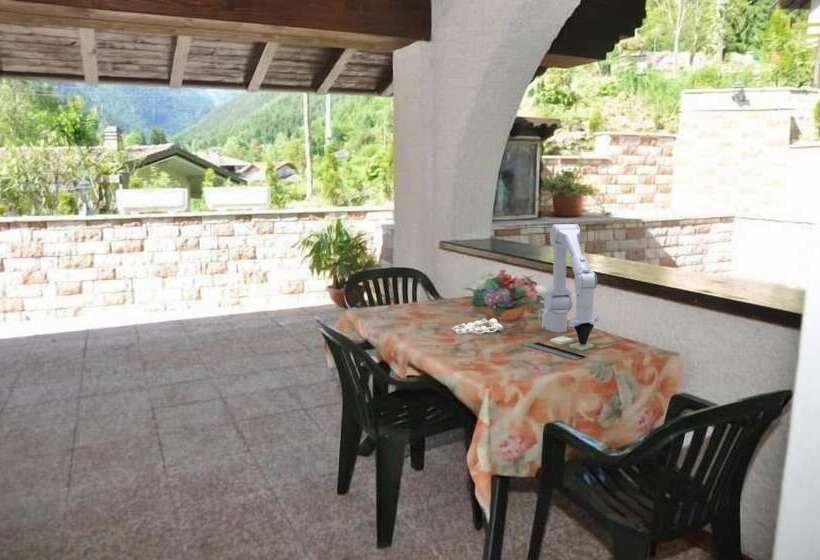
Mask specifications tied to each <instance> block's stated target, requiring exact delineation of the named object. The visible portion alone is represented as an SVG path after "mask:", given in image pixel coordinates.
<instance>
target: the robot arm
mask: <svg viewBox="0 0 820 560" xmlns="http://www.w3.org/2000/svg"><path fill="white" fill-rule="evenodd" d="M580 235H581V228H580V226H579V224H577V223H574V224H572V223H571V224H569V223H567V224H564V223H561V224H559V223H558V224H557V223H555V224H552V226H551V228H550V229H549V236H550V237H549V241H550V242H549V243H550V245H551V246H553V260H552V261H553V264H552V265H553V268H552V271H553V272H552V286H551V287H550V288H549V289H548V290H547V291H546V296H545V298H544V308H545V310H544V312H543V313H542V317H541V329H542V330H546V331H550V332H552V333H565V332H567V331H568V327H570V328H574V329H575V331H576V332H577V335H578V339H579V343H580V344H586V343H587V340H588V337H589V334H590V333H591V332H592V330H593V329H594V324H593V323H595V322H599V319H600V318H599V317H600V315H595V314H593V309H594V294H595V292H594V291H595V289H596V288H597V287H598V276H597V274H596V273H595V272H594V270H591V267H590V264H589V262H588V259H587V257H586V256H585V255H583V253H582V249H581V247H580V241H579V240H580ZM567 251H568V253H569V254H570V256H571V260H570V265H571V269H572V271H573V274H574V279H573V281H574V282H573V283H574V291H575V294H576V303H575V305H576V306H575V317H574V318H572V319H571V320H568V313H570V311H571V310H572V308H573V306H574V305H573V304H574V301H573V294H572V291H570V289H568V288H567V255H568V254H567Z"/></svg>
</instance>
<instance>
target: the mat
mask: <svg viewBox="0 0 820 560" xmlns="http://www.w3.org/2000/svg"><path fill="white" fill-rule="evenodd" d="M526 346H527V347H529V348H532V349H535V350H539V351H543V352H545V353H547V354H548V353H549V354H553V355H556V356H559V357H561V358H565V359H568V358H569V360H572V359H573V361H575V360H576V361H579V360H582V358H583V359H586V358H588V356H587V355H583V354H579V353H575V352H573V351H570V350H566V349H562V348H558V347H555V346H551V345H547V344H545V343H540V342H533V343H529V344H526ZM585 357H586V358H585ZM578 359H579V360H578Z"/></svg>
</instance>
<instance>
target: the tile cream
mask: <svg viewBox="0 0 820 560" xmlns="http://www.w3.org/2000/svg"><path fill="white" fill-rule="evenodd" d="M573 340H574V339H572V338H568V337H564V336H561V337H557V336H556V337H553V338H550V339H549V343H550V342H551V343H554V344H557V345H561V346H562V345H564V344H570V343H572V342H574V341H573Z"/></svg>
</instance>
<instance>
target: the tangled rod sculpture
mask: <svg viewBox="0 0 820 560" xmlns="http://www.w3.org/2000/svg"><path fill="white" fill-rule="evenodd" d="M484 324H488V325H489V326H485V325H484ZM460 326H461V327H460ZM490 326H491V327H490ZM502 329H503V325H502V324H500V323H499V322H498V320H497V319H496V318H490V319H489V320H487V319H486V317H484V318H482V319H481V320H476V321H473V322H468V323H467V324H466V323H461V324H458V325H455V326H453V327H452V331H454V333H455V332H456V334H458V335H459V334H462V335H465V334H466V333H470V334H473V333H474V334H477V335H481V334H485V332H486V333H494V332H495V333H496V332H497V331H496V330H499V331H500V330H502ZM493 330H494V331H493ZM479 331H480V332H479Z"/></svg>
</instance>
